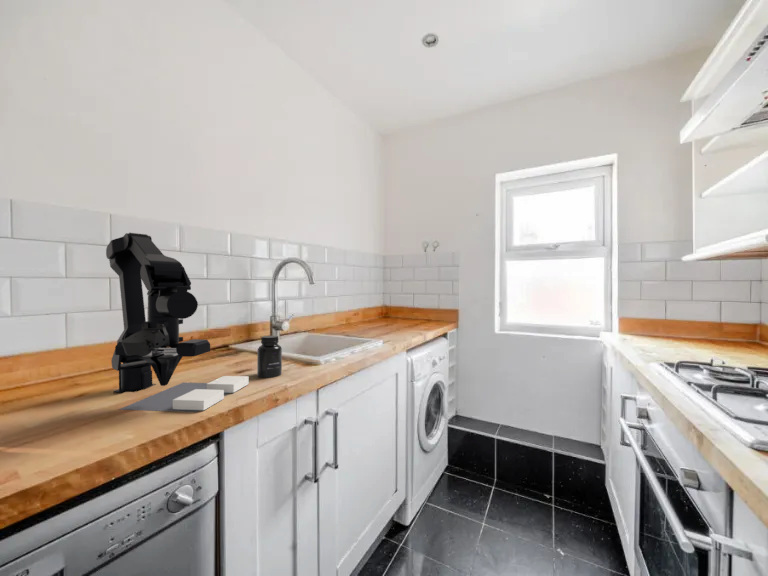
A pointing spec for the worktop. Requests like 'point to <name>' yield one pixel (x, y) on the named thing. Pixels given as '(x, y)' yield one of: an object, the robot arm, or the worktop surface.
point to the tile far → (229, 383)
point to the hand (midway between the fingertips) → (164, 385)
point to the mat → (166, 398)
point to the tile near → (198, 399)
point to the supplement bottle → (269, 358)
